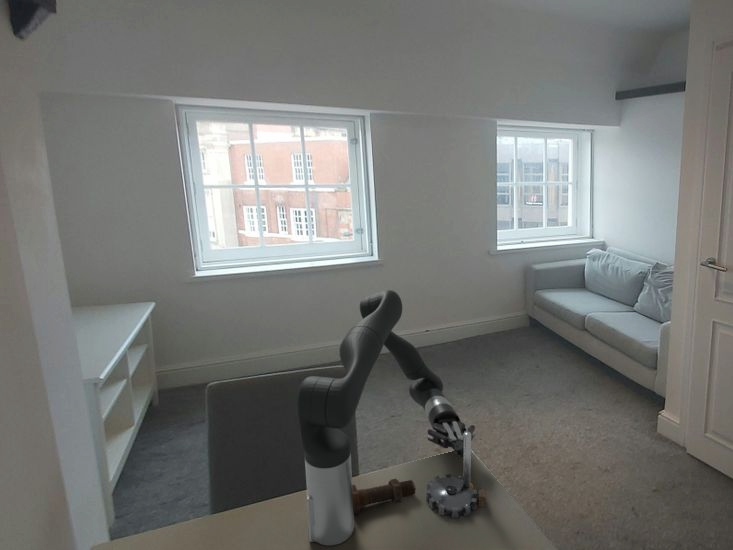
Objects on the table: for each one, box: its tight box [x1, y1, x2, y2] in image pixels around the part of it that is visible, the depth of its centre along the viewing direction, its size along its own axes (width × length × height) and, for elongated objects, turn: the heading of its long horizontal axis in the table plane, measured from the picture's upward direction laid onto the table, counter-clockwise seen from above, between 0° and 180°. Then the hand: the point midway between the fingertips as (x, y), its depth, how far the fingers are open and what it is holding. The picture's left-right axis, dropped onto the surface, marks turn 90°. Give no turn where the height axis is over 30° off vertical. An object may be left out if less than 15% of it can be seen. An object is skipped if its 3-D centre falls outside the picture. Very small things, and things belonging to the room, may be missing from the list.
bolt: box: [352, 478, 417, 515], centre depth 94 cm, size 6×5×15 cm
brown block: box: [478, 489, 486, 508], centre depth 92 cm, size 1×2×2 cm, turn 167°
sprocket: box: [425, 431, 478, 519], centre depth 93 cm, size 11×11×15 cm
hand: (463, 453), depth 97 cm, fingers closed
